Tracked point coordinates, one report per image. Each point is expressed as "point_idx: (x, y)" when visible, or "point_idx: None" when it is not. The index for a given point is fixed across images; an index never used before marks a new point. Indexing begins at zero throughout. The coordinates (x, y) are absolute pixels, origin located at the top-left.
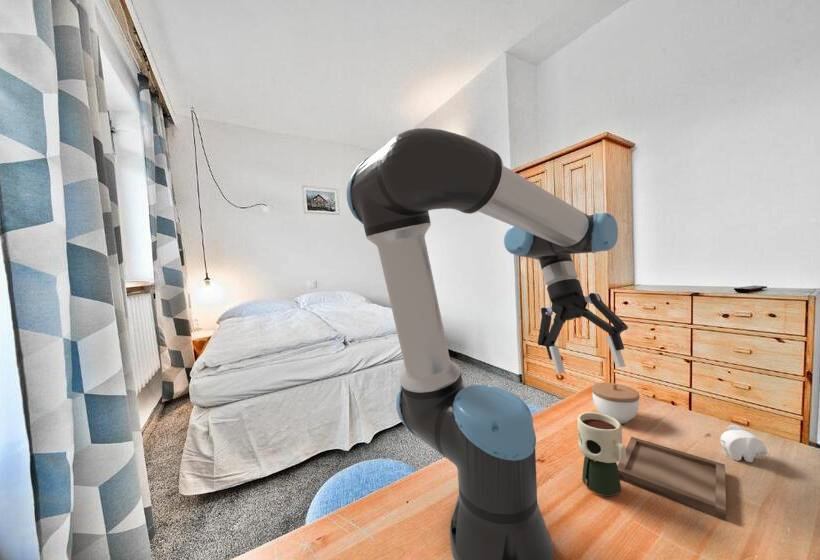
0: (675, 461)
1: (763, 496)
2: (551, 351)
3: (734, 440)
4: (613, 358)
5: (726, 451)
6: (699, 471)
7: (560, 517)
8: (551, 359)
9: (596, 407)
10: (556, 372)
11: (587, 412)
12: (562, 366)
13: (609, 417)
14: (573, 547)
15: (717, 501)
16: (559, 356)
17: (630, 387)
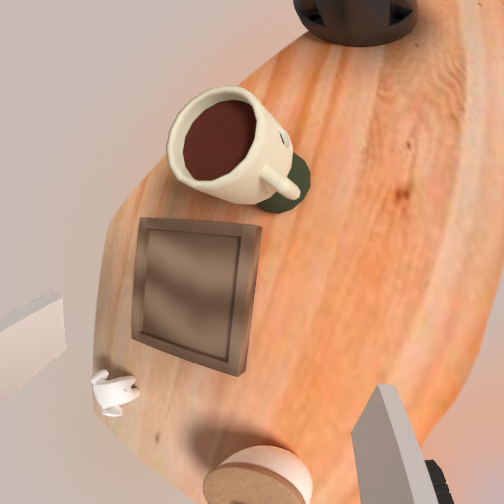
0: (180, 326)
1: (119, 300)
2: (426, 495)
3: (110, 382)
4: (34, 313)
5: (136, 389)
6: (157, 311)
7: (318, 76)
8: (425, 461)
9: (307, 470)
10: (393, 388)
11: (242, 164)
12: (359, 450)
13: (189, 178)
14: (290, 50)
15: (144, 230)
16: (368, 498)
17: None
